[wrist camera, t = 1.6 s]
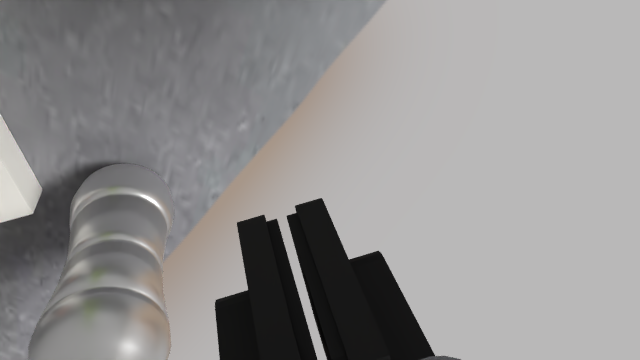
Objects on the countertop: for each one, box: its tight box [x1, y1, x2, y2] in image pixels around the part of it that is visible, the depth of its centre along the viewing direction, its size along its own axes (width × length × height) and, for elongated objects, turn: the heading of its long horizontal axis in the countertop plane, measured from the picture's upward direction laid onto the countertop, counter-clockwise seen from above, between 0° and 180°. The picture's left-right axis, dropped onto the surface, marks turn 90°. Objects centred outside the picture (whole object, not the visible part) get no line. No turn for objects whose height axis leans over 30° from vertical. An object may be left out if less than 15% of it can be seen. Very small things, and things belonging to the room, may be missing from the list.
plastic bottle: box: [28, 163, 175, 360], centre depth 31 cm, size 6×7×20 cm
